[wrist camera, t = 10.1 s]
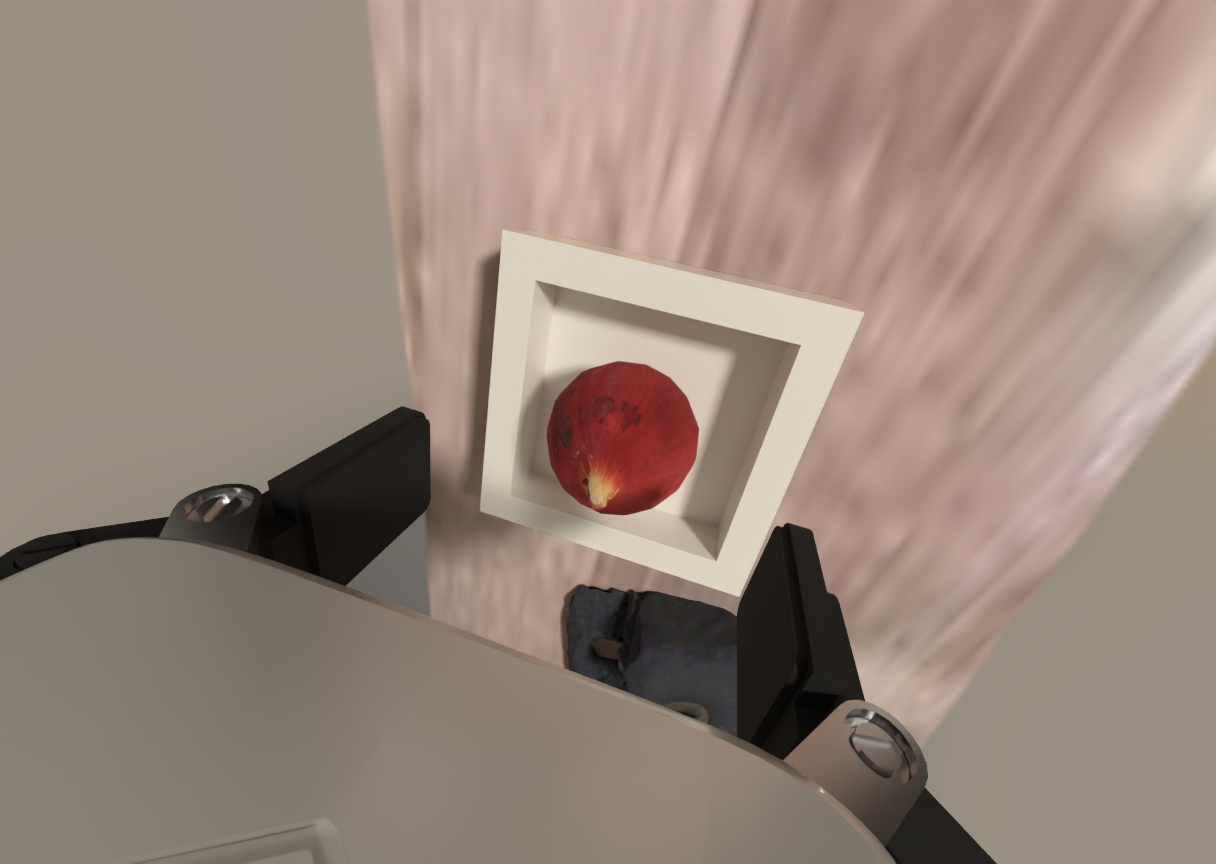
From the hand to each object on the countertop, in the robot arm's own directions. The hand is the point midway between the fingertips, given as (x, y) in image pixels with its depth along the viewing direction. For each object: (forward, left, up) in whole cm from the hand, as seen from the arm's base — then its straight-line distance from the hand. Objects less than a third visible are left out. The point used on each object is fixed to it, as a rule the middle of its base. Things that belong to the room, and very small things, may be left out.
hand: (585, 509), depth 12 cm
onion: (+1, 0, -10) cm, 10 cm away
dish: (+1, 0, -11) cm, 10 cm away
